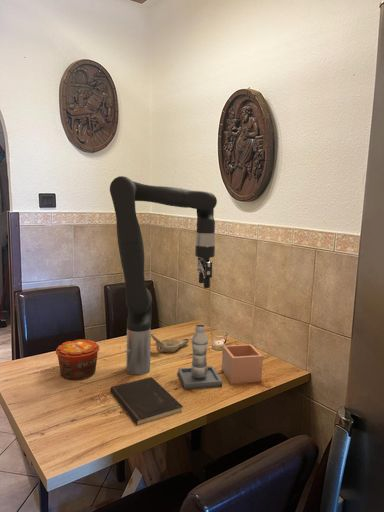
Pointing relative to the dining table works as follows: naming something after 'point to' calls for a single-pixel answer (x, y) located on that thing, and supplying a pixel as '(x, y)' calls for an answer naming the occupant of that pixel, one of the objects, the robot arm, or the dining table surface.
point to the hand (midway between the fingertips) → (204, 285)
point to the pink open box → (242, 363)
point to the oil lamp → (169, 344)
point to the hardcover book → (145, 400)
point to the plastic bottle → (199, 352)
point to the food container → (77, 359)
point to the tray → (193, 383)
